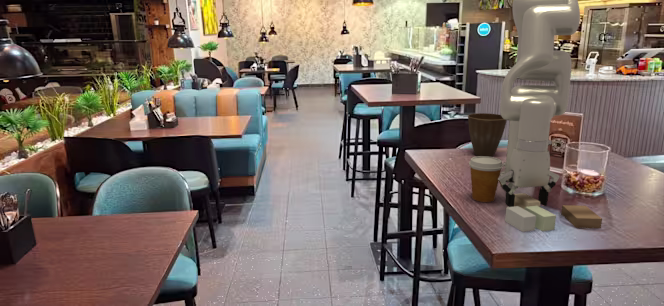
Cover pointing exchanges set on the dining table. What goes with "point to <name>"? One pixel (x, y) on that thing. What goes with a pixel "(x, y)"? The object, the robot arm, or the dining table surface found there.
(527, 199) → the beech brick
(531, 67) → the robot arm
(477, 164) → the disposable coffee cup
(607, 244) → the dining table surface
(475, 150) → the plant pot
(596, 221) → the walnut base
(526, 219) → the grey brick
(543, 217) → the sage brick
